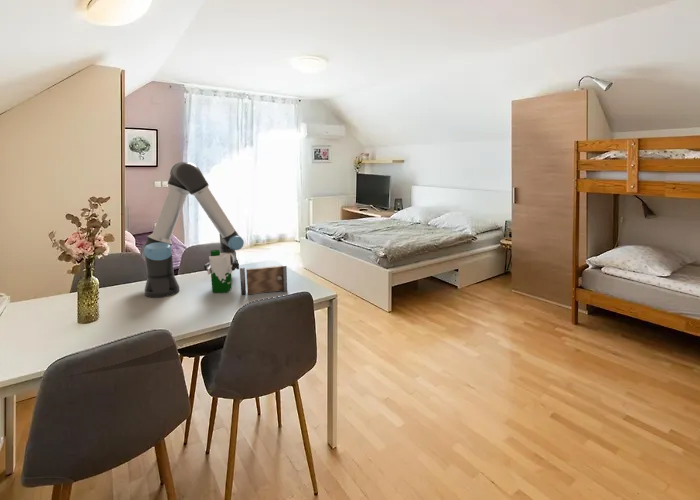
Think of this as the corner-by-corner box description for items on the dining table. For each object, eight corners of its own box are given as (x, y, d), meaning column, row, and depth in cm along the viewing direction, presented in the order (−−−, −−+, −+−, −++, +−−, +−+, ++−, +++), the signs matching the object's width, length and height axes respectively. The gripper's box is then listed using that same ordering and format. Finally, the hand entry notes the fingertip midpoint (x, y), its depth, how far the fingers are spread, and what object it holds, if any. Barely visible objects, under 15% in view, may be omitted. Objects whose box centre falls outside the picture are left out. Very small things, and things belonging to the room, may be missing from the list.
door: (248, 295, 187) (247, 270, 185) (247, 293, 191) (246, 268, 188) (286, 291, 194) (285, 267, 191) (284, 288, 197) (284, 265, 195)
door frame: (241, 295, 188) (239, 269, 185) (241, 294, 190) (239, 267, 187) (287, 291, 194) (286, 265, 191) (286, 290, 196) (285, 264, 193)
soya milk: (216, 287, 199) (213, 248, 195) (234, 287, 199) (231, 248, 195) (209, 293, 191) (206, 252, 186) (228, 293, 191) (226, 252, 186)
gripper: (247, 266, 213) (243, 278, 191) (204, 267, 209) (195, 280, 187) (246, 252, 211) (242, 262, 189) (203, 253, 207) (194, 264, 186)
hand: (219, 271), depth 188 cm, fingers closed on soya milk, 9 cm apart
